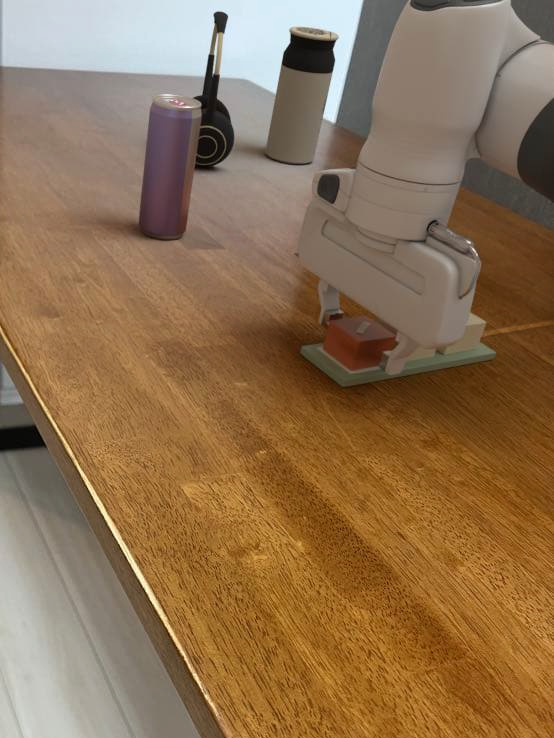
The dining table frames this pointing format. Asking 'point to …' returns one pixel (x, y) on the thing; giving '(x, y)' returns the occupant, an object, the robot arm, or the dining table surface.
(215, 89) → the headphones
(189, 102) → the beverage can
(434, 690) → the dining table surface
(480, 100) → the robot arm
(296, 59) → the travel mug
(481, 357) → the word board
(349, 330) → the block
